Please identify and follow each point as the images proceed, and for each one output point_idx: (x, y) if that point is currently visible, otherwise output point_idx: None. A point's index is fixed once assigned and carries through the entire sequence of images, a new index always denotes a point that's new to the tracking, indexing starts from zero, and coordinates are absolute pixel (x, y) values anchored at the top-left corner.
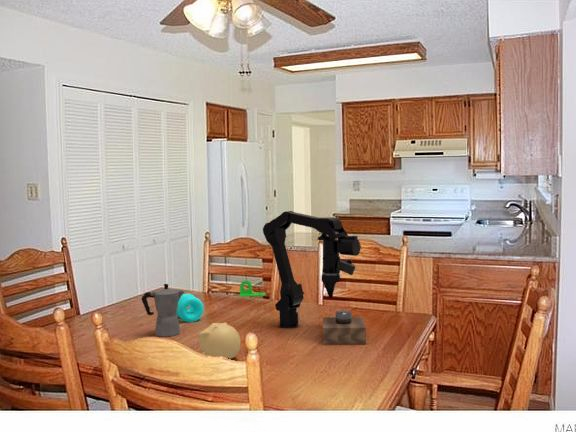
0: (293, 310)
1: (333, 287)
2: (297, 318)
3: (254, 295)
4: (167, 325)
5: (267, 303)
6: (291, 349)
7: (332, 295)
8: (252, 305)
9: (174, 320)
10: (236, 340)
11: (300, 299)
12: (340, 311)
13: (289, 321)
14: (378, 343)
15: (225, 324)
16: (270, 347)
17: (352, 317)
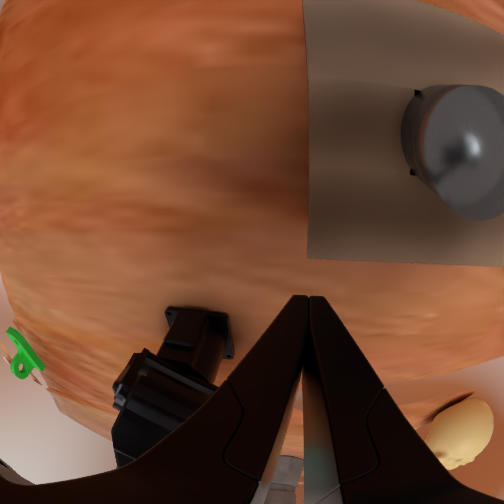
0: (196, 369)
1: (397, 423)
2: (198, 331)
3: (27, 351)
4: (299, 475)
5: (37, 335)
6: (479, 319)
7: (333, 314)
8: (62, 361)
9: (290, 478)
10: (489, 421)
11: (165, 390)
12: (466, 176)
13: (221, 348)
14: (474, 5)
15: (465, 459)
16: (440, 363)
17: (313, 52)
